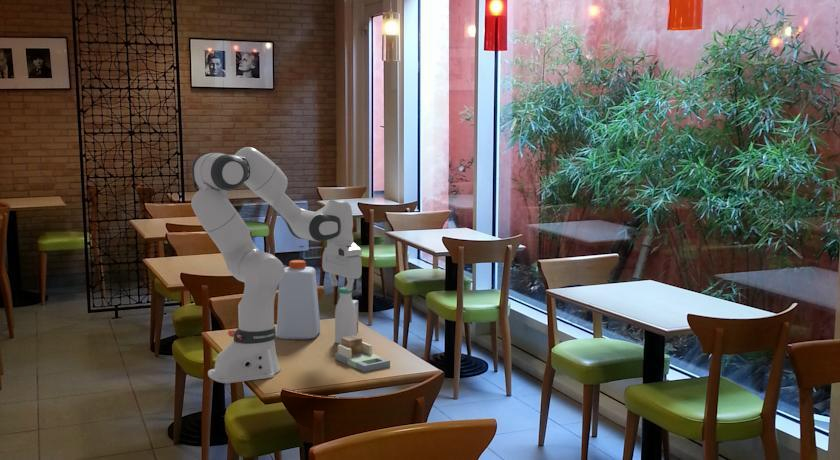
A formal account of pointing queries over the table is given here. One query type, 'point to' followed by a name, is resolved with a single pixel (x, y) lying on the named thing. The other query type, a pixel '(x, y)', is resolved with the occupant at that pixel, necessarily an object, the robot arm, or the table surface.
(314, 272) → the plastic bottle
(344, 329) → the milk bottle
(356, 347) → the block
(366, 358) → the grey tray
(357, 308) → the skincare box
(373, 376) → the table surface
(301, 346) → the table surface
